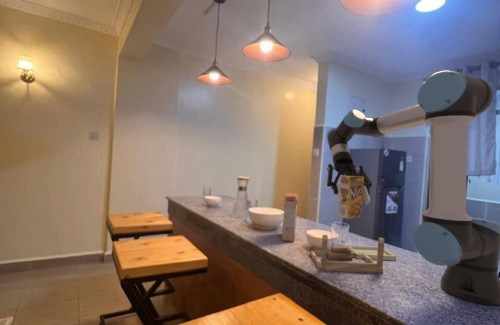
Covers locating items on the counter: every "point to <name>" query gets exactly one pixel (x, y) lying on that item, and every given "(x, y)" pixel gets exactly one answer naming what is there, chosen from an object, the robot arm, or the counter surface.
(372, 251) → the tray
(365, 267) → the rack
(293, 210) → the cracker box
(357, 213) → the candy box
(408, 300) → the counter surface
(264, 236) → the counter surface
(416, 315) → the counter surface
